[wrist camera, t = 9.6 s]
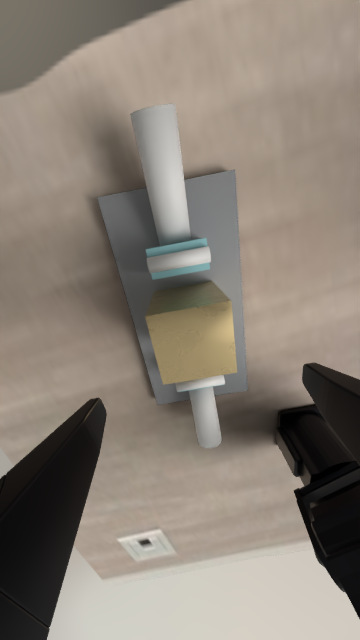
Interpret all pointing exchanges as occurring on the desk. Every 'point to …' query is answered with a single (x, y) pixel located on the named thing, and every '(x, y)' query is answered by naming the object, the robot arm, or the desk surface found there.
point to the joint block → (192, 332)
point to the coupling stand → (177, 253)
